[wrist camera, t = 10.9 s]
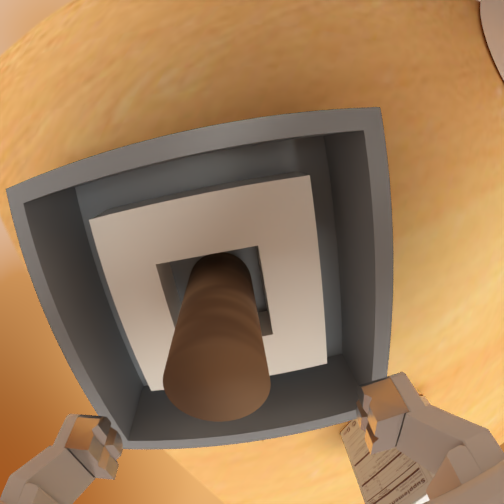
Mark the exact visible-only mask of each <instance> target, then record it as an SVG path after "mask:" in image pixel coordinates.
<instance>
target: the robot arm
mask: <svg viewBox="0 0 504 504" xmlns="http://www.w3.org/2000/svg"><path fill="white" fill-rule="evenodd" d="M480 14H481V22H482V26H483V30H484V34H485V37H486V41H487V44H488V47H489V49H490V52H491V54H492V57H493V59H494V62H495V64H496V66H497V68H498V70H499V72H500V74H501V76H502V78H503V80H504V0H481V2H480ZM357 396H358V398H359V400H358V401H357V402H356V416H357V420H358V424H359V426H360V429H361V430H363V431H365V432H366V433H365V442H366V444H367V447H368V449H369V452H370V454H371V455H372V454H375V453H379V452H382V451H385V450H389V449H392V448H395V447H396V449H397V450H399V451H400V452H402V453H403V454H405V455H406V456H408V457H409V458H411V459H412V460H414V461H415V462H417V463H418V464H420V465H421V466H423V467H424V468H426V469H427V470H429V471H430V472H432V473H433V474H435V476H434V477H433V479H432V481H431V482H430V484H429V485H428V487H427V489H426V493H427V495H428V497H429V501H427V502H425V503H423V504H504V452H503V451H502V449H501V448H500V446H499V445H498V443H497V442H496V440H495V439H494V437H493V436H492V434H491V433H490V431H489V430H488V429H486V428H484V427H482V426H479V425H477V424H474V423H472V422H469V421H467V420H465V419H462V418H460V417H458V416H455V415H453V414H451V413H448V412H446V411H444V410H442V409H439V408H437V407H435V406H433V405H430V404H429V405H425V404H424V402H423V400H422V399H421V397H420V396H419V394H418V393H417V391H416V389H415V388H414V386H413V385H412V383H411V382H410V380H409V379H408V377H407V376H406V374H405V373H404V372H400V373H397V374H394V375H391V376H388V377H384V378H381V379H378V380H374V381H371V382H368V383H364V384H361V385H358V387H357ZM122 450H123V443H122V439H121V436H120V434H119V433H118V431H116V430H115V429H113V428H112V427H111V422H110V420H109V419H108V418H107V417H105V416H92V415H78V414H69V415H68V416H67V417H66V419H65V421H64V423H63V425H62V427H61V429H60V431H59V433H58V436H57V438H56V440H55V442H54V444H53V446H49V447H47V448H46V449H45V450H43V451H42V452H41V453H40V454H38V455H37V456H36V457H34V458H33V459H31V460H30V461H29V462H27V463H26V464H25V465H23V466H22V467H21V468H19V469H18V470H17V471H15V472H14V473H13V474H11V475H10V477H9V479H8V482H7V484H6V486H5V488H4V490H3V493H2V495H1V498H0V504H72V503H73V502H74V501H75V500H76V499H77V498H78V497H79V496H80V495H81V493H83V491H84V490H85V489H86V488H87V487H88V486H89V485H90V484H91V482H92V481H93V480H94V479H95V478H103V479H113V480H114V479H115V477H116V473H117V469H118V463H117V461H116V459H118V458H119V457H120V456H121V453H122Z"/></svg>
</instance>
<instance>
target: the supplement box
mask: <svg viewBox="0 0 504 504" xmlns="http://www.w3.org/2000/svg"><path fill="white" fill-rule="evenodd" d="M420 397H421V399H422V400H423V402H424V404H425V405H429V404H430V403H429V402H428V400H427V399H426V398H425V396H420ZM365 433H366V432H365V431H363V430H361V429H360V426H359V424H358V420H357V419H354V420H351V421H350V423H349V424H348V425H347V426H346V427H345V428H344V429H343V430H342V431H341V433H340V434H341V437H342V440H343V442H344V445H345V448H346V451H347V454H348V456H349V459H350V462H351V465H352V468H353V470H354V473H355V476H356V479H357V482H358V484H359V487H360V490H361V493H362V496H363V499H364V502H365V504H423V503H425V502H427V501H429V497H428V495H427V493H426V489H427V487H428V485H429V484H430V482H431V481H432V479H433V477H434V476H435V474H433V473H432V472H430V471H429V470H427V469H426V468H424V467H423V466H421V465H420V464H418V463H417V462H415V461H414V460H412V459H411V458H409V457H408V456H406V455H405V454H403V453H402V452H400V451H399V450H397V449H396V447H395V448H392V449H389V450H385V451H382V452H379V453H375V454H372V455H371V454H370V452H369V449H368V447H367V444H366V442H365Z"/></svg>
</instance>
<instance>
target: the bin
mask: <svg viewBox="0 0 504 504" xmlns="http://www.w3.org/2000/svg"><path fill="white" fill-rule="evenodd" d="M6 192H7V197H8V201H9V206H10V210H11V214H12V218H13V222H14V226H15V229H16V233H17V237H18V240H19V244H20V247H21V250H22V253H23V257H24V260H25V263H26V266H27V269H28V272H29V274H30V277H31V280H32V283H33V286H34V288H35V291H36V293H37V296H38V299H39V301H40V304H41V306H42V308H43V311H44V313H45V315H46V318H47V320H48V322H49V325H50V327H51V329H52V331H53V334H54V336H55V338H56V340H57V342H58V344H59V346H60V348H61V350H62V352H63V354H64V356H65V358H66V360H67V362H68V364H69V366H70V368H71V370H72V372H73V373H74V375H75V377H76V379H77V380H78V382H79V384H80V386H81V388H82V389H83V391H84V393H85V394H86V396H87V398H88V399H89V401H90V403H91V404H92V406H93V408H94V409H95V411H96V412H97V414H98V416H105V417H107V418H108V419H109V420H110V422H111V427H112V428H113V429H115V430H116V431H118V433H119V434H120V436H121V439H122V443H123V449H180V448H197V447H210V446H220V445H229V444H238V443H245V442H252V441H259V440H265V439H271V438H277V437H282V436H287V435H293V434H297V433H302V432H307V431H311V430H316V429H320V428H324V427H328V426H332V425H336V424H339V423H343V422H347V421H350V420H354V419H357V416H356V402H357V401H358V400H359V398H358V396H357V387H358V385H361V384H364V383H368V382H371V381H374V380H378V379H381V378H384V377H387V370H388V360H389V349H390V337H391V322H392V302H393V228H392V207H391V192H390V180H389V169H388V160H387V151H386V143H385V135H384V128H383V121H382V115H381V109H380V107H370V108H348V109H332V110H320V111H309V112H299V113H290V114H282V115H274V116H266V117H259V118H253V119H246V120H240V121H234V122H228V123H223V124H217V125H212V126H207V127H202V128H197V129H192V130H188V131H183V132H179V133H174V134H170V135H166V136H162V137H158V138H154V139H150V140H146V141H142V142H138V143H135V144H131V145H128V146H124V147H121V148H117V149H114V150H110V151H107V152H104V153H101V154H98V155H94V156H91V157H88V158H85V159H82V160H79V161H76V162H73V163H71V164H68V165H65V166H62V167H59V168H57V169H54V170H51V171H49V172H46V173H44V174H41V175H38V176H36V177H33V178H31V179H28V180H26V181H24V182H21V183H19V184H17V185H14V186H12V187H10V188H7V189H6ZM220 252H224V253H229V254H232V255H235V256H236V257H238V258H239V259H241V260H242V261H243V262H244V263H245V264H246V266H247V267H248V269H249V271H250V274H251V279H252V284H253V290H254V295H255V301H256V306H257V311H258V317H259V322H260V328H261V333H262V338H263V344H264V349H265V354H266V360H267V365H268V370H269V376H270V382H271V386H270V392H269V395H268V397H267V399H266V400H265V402H264V403H263V404H262V405H261V407H259V408H258V409H257V410H256V411H254V412H253V413H251V414H249V415H247V416H245V417H243V418H240V419H236V420H232V421H224V422H214V421H206V420H201V419H198V418H195V417H192V416H190V415H188V414H186V413H184V412H182V411H181V410H179V409H178V408H177V407H176V406H175V405H174V404H173V403H172V402H171V401H170V400H169V398H168V397H167V395H166V393H165V390H164V387H163V374H164V370H165V366H166V362H167V358H168V354H169V350H170V346H171V342H172V338H173V335H174V331H175V327H176V323H177V320H178V316H179V312H180V309H181V305H182V301H183V298H184V294H185V291H186V287H187V284H188V280H189V277H190V273H191V271H192V268H193V267H194V265H195V264H196V262H197V261H198V260H200V259H201V258H202V257H204V256H206V255H209V254H214V253H220Z"/></svg>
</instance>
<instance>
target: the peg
mask: <svg viewBox="0 0 504 504" xmlns="http://www.w3.org/2000/svg"><path fill="white" fill-rule="evenodd" d="M270 386H271V382H270V376H269V370H268V365H267V360H266V354H265V349H264V344H263V338H262V333H261V328H260V322H259V317H258V311H257V306H256V301H255V295H254V290H253V284H252V279H251V274H250V271H249V269H248V267H247V266H246V264H245V263H244V262H243V261H242V260H241V259H239V258H238V257H236V256H235V255H232V254H229V253H224V252H220V253H214V254H209V255H206V256H204V257H202V258H201V259H200V260H198V261H197V262H196V264H195V265H194V267H193V268H192V271H191V273H190V277H189V280H188V284H187V287H186V291H185V294H184V298H183V301H182V305H181V309H180V312H179V316H178V320H177V323H176V327H175V331H174V335H173V338H172V342H171V346H170V350H169V354H168V358H167V362H166V366H165V370H164V374H163V387H164V390H165V393H166V395H167V397H168V398H169V400H170V401H171V402H172V403H173V404H174V405H175V406H176V407H177V408H178V409H179V410H181V411H182V412H184V413H186V414H188V415H190V416H192V417H195V418H198V419H201V420H206V421H214V422H224V421H232V420H236V419H240V418H243V417H245V416H247V415H249V414H251V413H253V412H254V411H256V410H257V409H258V408H259V407H261V405H262V404H263V403H264V402H265V400H266V399H267V397H268V395H269V392H270Z"/></svg>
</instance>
